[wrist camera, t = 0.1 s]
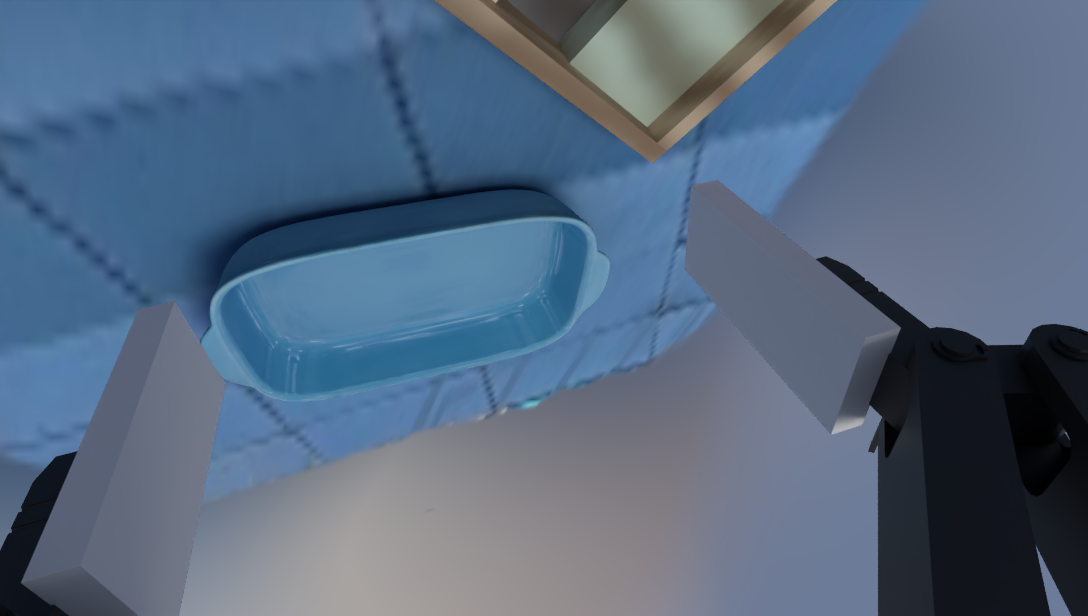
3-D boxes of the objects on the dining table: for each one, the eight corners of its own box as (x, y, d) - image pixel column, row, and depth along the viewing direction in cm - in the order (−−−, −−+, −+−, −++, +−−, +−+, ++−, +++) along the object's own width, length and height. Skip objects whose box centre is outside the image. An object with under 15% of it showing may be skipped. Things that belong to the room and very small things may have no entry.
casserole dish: (605, 149, 52) (635, 205, 49) (571, 295, 70) (592, 343, 67) (150, 212, 43) (144, 287, 39) (246, 361, 61) (249, 421, 58)
